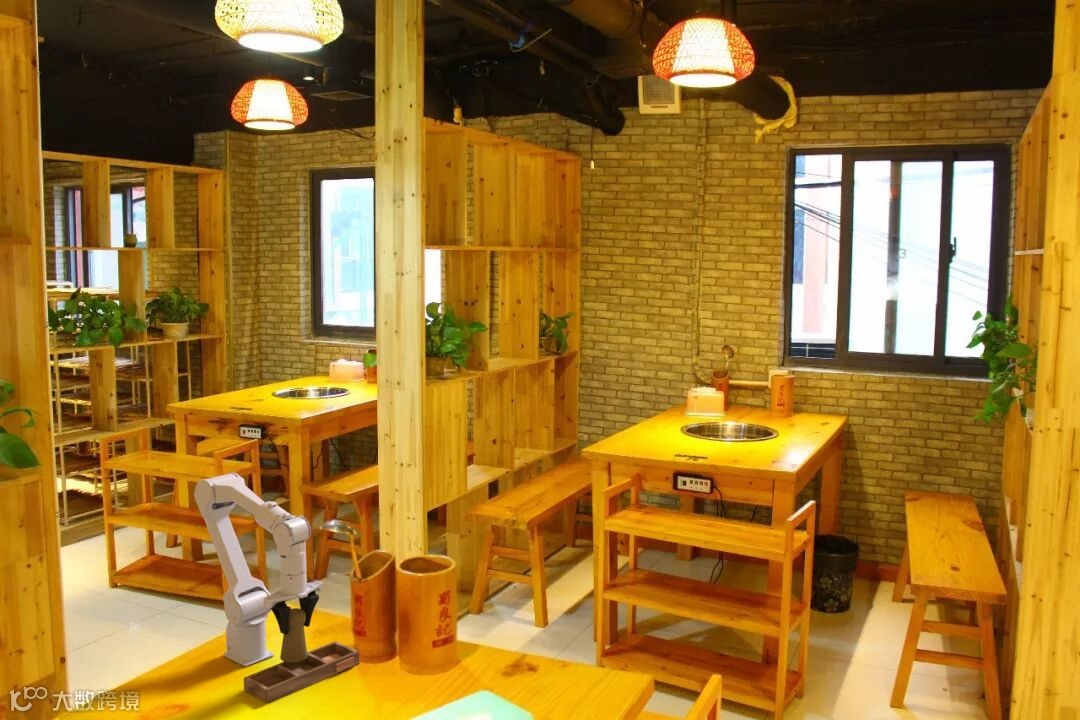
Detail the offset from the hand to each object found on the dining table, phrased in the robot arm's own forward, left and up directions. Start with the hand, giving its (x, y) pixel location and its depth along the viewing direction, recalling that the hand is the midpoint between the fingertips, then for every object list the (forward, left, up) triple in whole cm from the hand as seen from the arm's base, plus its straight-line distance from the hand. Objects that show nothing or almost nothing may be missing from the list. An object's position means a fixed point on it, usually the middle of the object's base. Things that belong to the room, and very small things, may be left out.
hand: (295, 629), depth 205 cm
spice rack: (+3, 0, -10) cm, 11 cm away
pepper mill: (0, 0, -7) cm, 7 cm away
